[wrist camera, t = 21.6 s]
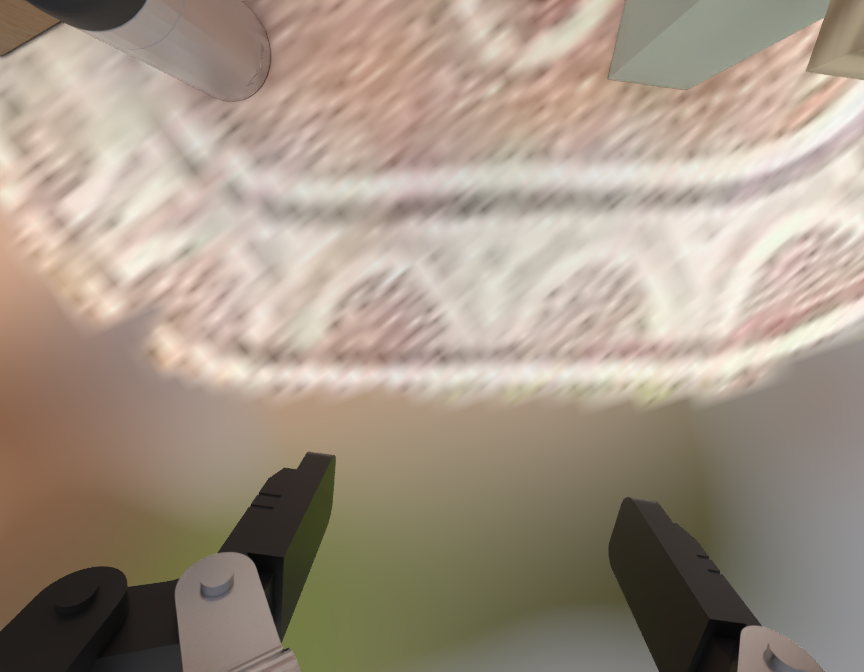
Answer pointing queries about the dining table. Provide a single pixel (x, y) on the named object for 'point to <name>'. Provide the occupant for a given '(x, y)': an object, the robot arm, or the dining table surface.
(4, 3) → the wooden block
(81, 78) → the dining table surface
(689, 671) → the robot arm
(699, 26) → the sage pedestal
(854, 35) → the oak rod
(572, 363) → the dining table surface
